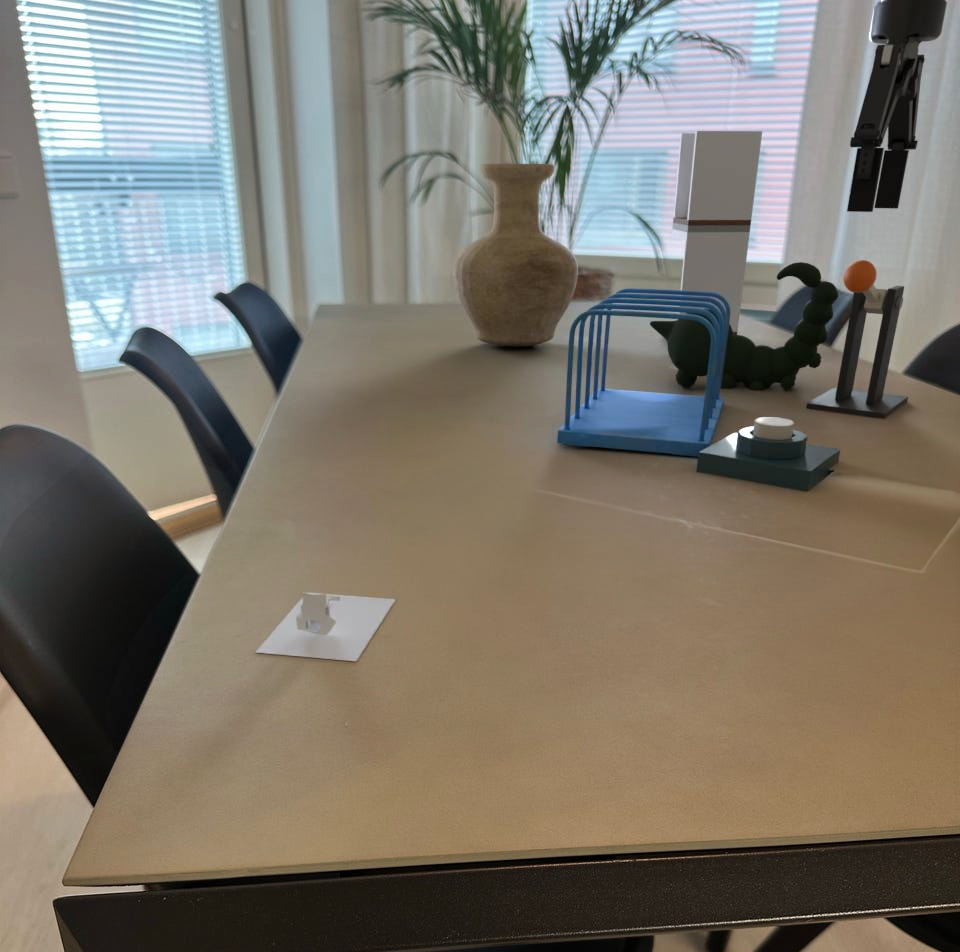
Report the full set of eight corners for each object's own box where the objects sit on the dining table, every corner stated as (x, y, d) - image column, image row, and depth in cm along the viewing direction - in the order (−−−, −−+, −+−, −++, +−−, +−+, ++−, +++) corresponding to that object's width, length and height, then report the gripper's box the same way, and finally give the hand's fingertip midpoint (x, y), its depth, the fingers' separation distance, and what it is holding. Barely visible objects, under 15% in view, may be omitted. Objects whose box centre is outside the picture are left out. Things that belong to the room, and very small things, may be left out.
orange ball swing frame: (883, 425, 116) (909, 293, 109) (804, 414, 121) (825, 288, 114) (906, 407, 125) (932, 284, 117) (832, 398, 130) (853, 280, 123)
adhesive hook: (295, 637, 63) (290, 595, 62) (308, 621, 65) (304, 581, 64) (337, 640, 63) (333, 599, 61) (348, 624, 65) (345, 584, 63)
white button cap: (796, 436, 97) (799, 420, 96) (784, 444, 94) (786, 427, 93) (760, 431, 99) (762, 415, 98) (746, 438, 96) (749, 422, 96)
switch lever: (868, 289, 105) (877, 256, 105) (836, 287, 107) (845, 255, 106) (889, 319, 117) (897, 290, 116) (860, 317, 119) (868, 289, 118)
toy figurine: (810, 399, 136) (645, 373, 143) (845, 264, 127) (668, 243, 134) (808, 413, 128) (634, 385, 135) (845, 270, 119) (657, 247, 126)
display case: (719, 334, 182) (742, 133, 166) (736, 342, 172) (762, 131, 156) (663, 334, 181) (680, 133, 165) (676, 343, 171) (696, 131, 156)
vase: (513, 360, 156) (516, 163, 142) (429, 344, 171) (425, 164, 157) (599, 345, 169) (609, 163, 156) (515, 331, 184) (517, 164, 170)
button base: (837, 469, 99) (843, 432, 97) (807, 492, 92) (814, 453, 90) (731, 451, 105) (736, 416, 103) (696, 472, 98) (700, 435, 96)
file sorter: (707, 460, 102) (724, 316, 95) (555, 448, 106) (561, 309, 99) (723, 410, 123) (737, 289, 116) (596, 402, 128) (603, 285, 121)
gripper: (899, 15, 112) (866, 206, 122) (847, -16, 94) (813, 212, 103) (966, 10, 108) (926, 207, 118) (925, -23, 90) (882, 213, 100)
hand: (873, 210), depth 111 cm, fingers open, 13 cm apart
